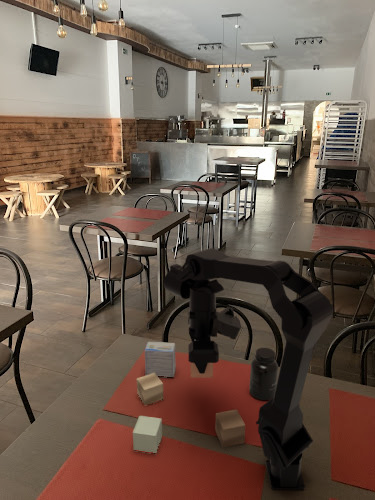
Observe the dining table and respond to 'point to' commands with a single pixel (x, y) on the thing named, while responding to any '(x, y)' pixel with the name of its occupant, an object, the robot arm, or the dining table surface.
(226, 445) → the walnut block
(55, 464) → the dining table surface
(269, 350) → the supplement bottle
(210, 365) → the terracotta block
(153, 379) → the maple block
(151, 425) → the sage painted block
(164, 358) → the medicine box
